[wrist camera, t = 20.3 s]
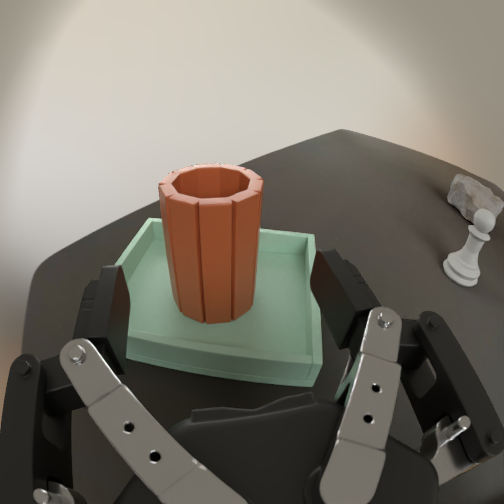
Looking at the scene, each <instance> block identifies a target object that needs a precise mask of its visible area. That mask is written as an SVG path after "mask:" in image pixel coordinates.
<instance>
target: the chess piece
mask: <svg viewBox="0 0 504 504" xmlns="http://www.w3.org/2000/svg"><path fill="white" fill-rule="evenodd" d="M474 225H475V226H474ZM474 225H469V226H468V228H469V231H470V234H469V237H468V239H467V242H466V245H465V246H464V247H463V248H462V249H461V250H460V251H457V252H454V253H450V254H449V255H448V259H446V260H445V261H444V263H443V266H444V270H445V273H446V274H447V275H448V277H449V278H450V279H451V280H453V281H454V282H455V283H457V284H459V285H461V286H465V287H471V286H474V285H476V283H477V281H478V277H479V276H480V269H479V267H478V262H477V260H478V253H479V251H480V249H481V248H482V246H483V244H484V242H485V241H488V240H490V236H489V235H488V234H487V233H488V232H490V231H491V230H492V229H493V228H494V226H495V217H494V215H493V214H492V213H491V212H490V211H489V210H486V209H479V210H477V211H476V213H475V215H474Z"/></svg>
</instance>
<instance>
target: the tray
mask: <svg viewBox="0 0 504 504" xmlns="http://www.w3.org/2000/svg"><path fill="white" fill-rule="evenodd" d="M315 254H316V249H315V239H314V235H313V234H308V235H307V234H304V233H296V232H287V231H278V230H269V229H260V238H259V251H258V263H257V275H256V288H255V295H254V301H253V306H251V309H250V310H249V311H247V312H246V313H245V314H243V315H242V316H240V317H239V318H238V319H236V320H235V321H234V320H232V319H231V322H227V323H216V324H206V320H205V322H204V323H200V322H198V321H195V320H193V319H191V318H189V317H187V316H184V315H183V312H180V311H179V309H178V307H177V304H176V302H175V300H174V298H173V293H172V287H171V281H170V275H169V268H168V262H167V255H166V248H165V240H164V233H163V225H162V219H154V218H148V220H147V221H146V222H145V224H144V225H143V226H142V228H141V229H140V230H139V232H138V233H137V234H136V236H135V237H134V238H133V240H132V241H131V243H130V244H129V245H128V247H127V248H126V250H125V251H124V252H123V254H122V255H121V257H120V258H119V259H118V261H117V262H116V264H115V265H121V266H122V268H123V272H124V276H125V280H126V283H127V287H128V290H129V294H130V316H129V327H128V338H127V351H126V358H127V359H131V360H135V361H139V362H144V363H148V364H152V365H157V366H161V367H166V368H171V369H176V370H181V371H186V372H191V373H197V374H203V375H208V376H215V377H221V378H228V379H235V380H242V381H250V382H258V383H267V384H277V385H289V386H302V387H313V385H314V382H315V380H316V378H317V376H318V374H319V371H320V369H321V367H322V365H323V357H322V334H321V315H320V308H319V306H318V304H317V302H316V300H315V298H314V296H313V294H312V291H311V288H310V275H311V271H312V267H313V262H314V258H315Z"/></svg>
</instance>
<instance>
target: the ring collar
mask: <svg viewBox="0 0 504 504" xmlns="http://www.w3.org/2000/svg"><path fill="white" fill-rule="evenodd" d="M263 187H264V180H263V179H262V178H261V177H260V176H258V175H257V174H256V173H254V172H253V171H251V170H250V169H248V170H246V168H243V167H238V166H233V165H228V164H223V165H221V164H220V163H219V164H197V165H196V167H195V166H189V167H185V168H182V169H179V170H176V171H173V172H172V173H169V174H168V175H167V176H165V178H164V179H163V180H162V181H161V182H160V183H159V187H158V188H159V197H160V207H161V216H162V225H163V233H164V240H165V248H166V255H167V262H168V268H169V275H170V281H171V287H172V293H173V298H174V300H175V302H176V304H177V307H178V309H179V311H180V312H183V315H184V316H187V317H189V318H191V319H193V320H195V321H198V322H200V323H204V322H205V320H206V324H216V323H227V322H231V319H232V320H234V321H235V320H236V319H238V318H239V317H240V316H242V315H243V314H245V313H246V312H247V311H249V310H250V309H251V306H253V301H254V295H255V288H256V275H257V263H258V251H259V238H260V225H261V213H262V200H263Z"/></svg>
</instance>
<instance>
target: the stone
mask: <svg viewBox="0 0 504 504" xmlns="http://www.w3.org/2000/svg"><path fill="white" fill-rule="evenodd" d="M447 197H448V202H449V203H450V204H452V205H453V206H455V207H456V208H457V209H459V211H460V212H461V214H462V216H464V217H465V219H466V220H469V221H471V222H472V223H473V224H474V215H475V213H476V211H477V210H479V209H486V210H489V211H490V212H491V213H492V214H493V215H494V217H495V220H496V216H498V214H499V213H501V210H502V208H503V207H504V202H502V201H501V199H500V198H499V197H497V196H494V195H493V193H492V191H491V189H490V188H488V187H484V186H483V185H482V184H481V183H479V182H478V181H476V180H475V179H473V178H471V177H470V176H468V177H467V176H464V175H462V174H457V175H456V177H455V178H454V180H453V181H452V183H451V189H450V192H449V193H448V196H447Z"/></svg>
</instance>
